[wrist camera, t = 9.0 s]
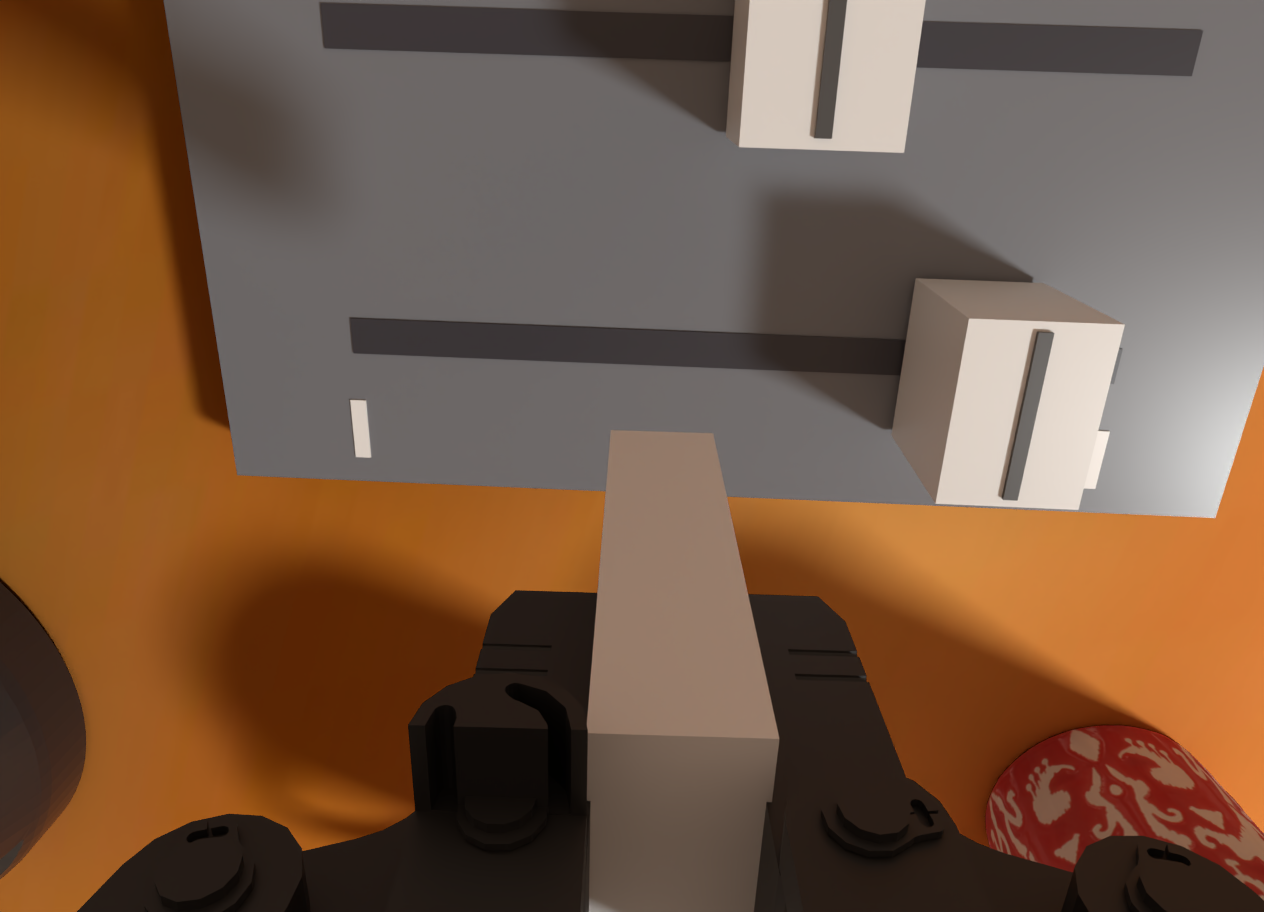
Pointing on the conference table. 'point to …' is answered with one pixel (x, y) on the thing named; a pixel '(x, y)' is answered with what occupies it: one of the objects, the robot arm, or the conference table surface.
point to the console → (706, 237)
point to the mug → (1118, 801)
